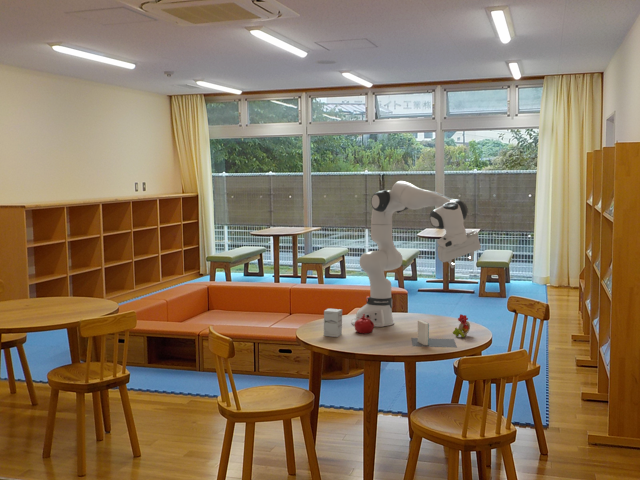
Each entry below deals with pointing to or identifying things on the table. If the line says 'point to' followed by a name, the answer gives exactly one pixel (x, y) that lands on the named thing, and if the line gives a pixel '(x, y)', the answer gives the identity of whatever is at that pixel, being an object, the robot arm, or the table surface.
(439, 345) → the rubber mat
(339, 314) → the supplement box
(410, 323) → the table surface
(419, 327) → the tile
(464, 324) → the bird rattle
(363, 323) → the pomegranate
